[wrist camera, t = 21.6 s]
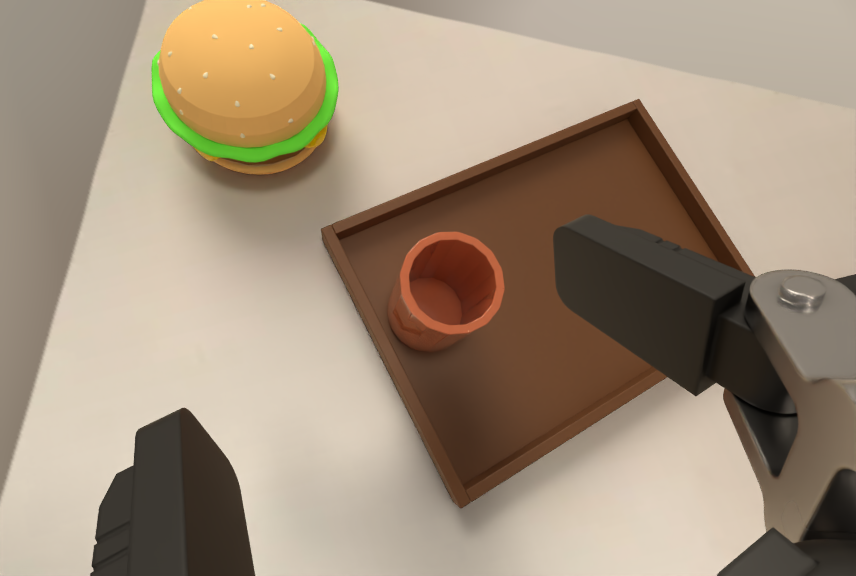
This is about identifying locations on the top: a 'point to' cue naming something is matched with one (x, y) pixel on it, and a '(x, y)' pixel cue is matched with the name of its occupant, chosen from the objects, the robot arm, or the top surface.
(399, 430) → the top surface
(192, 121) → the hamburger
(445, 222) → the tray
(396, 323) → the reddish brown cup
